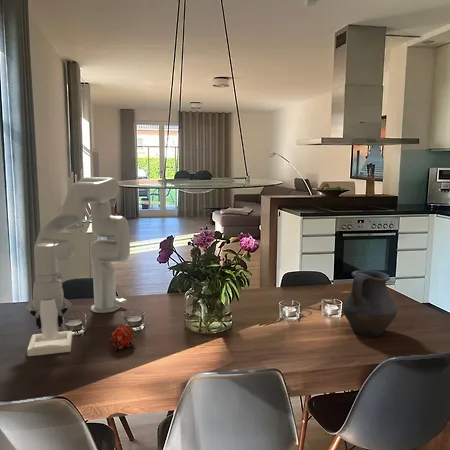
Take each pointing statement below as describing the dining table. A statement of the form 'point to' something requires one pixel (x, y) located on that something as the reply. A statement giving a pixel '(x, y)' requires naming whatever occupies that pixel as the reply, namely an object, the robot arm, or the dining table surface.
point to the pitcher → (369, 303)
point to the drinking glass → (49, 319)
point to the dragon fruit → (122, 336)
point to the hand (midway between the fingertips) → (49, 326)
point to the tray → (50, 344)
